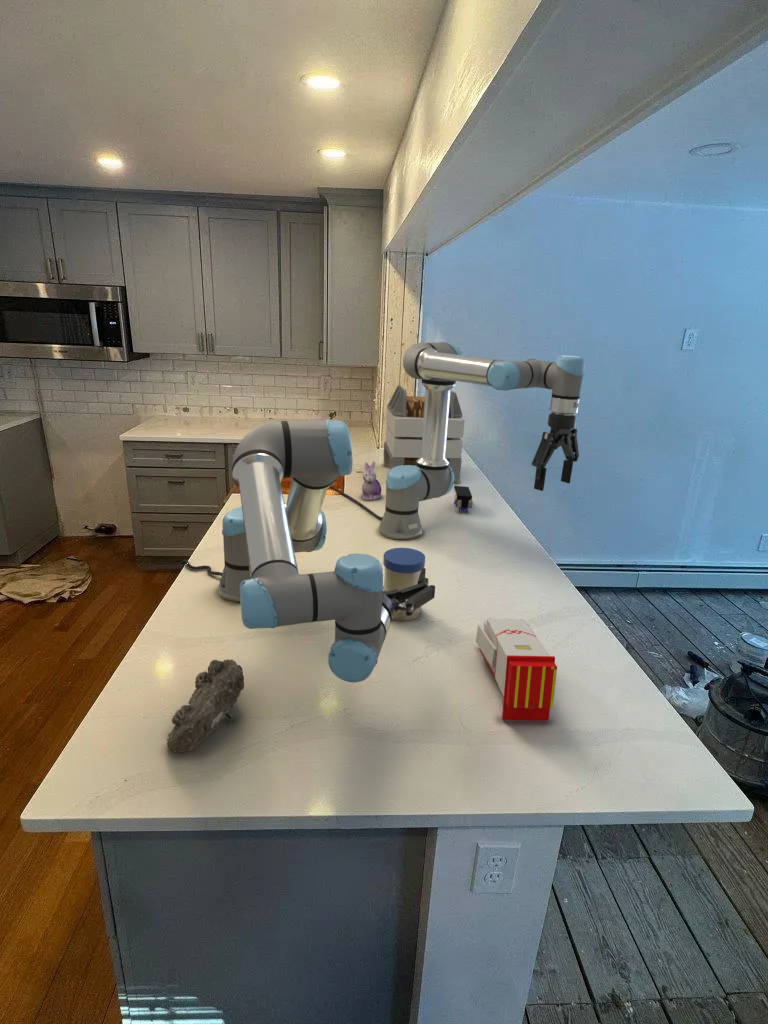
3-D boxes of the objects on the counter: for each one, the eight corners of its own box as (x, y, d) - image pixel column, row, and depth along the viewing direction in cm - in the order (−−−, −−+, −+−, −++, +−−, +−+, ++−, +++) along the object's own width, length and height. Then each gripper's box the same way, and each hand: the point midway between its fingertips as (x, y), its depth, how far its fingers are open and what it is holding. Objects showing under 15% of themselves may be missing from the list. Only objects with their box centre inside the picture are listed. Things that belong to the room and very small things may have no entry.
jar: (421, 621, 145) (425, 566, 139) (383, 620, 144) (386, 565, 139) (417, 602, 154) (421, 550, 149) (381, 601, 153) (384, 549, 148)
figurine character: (472, 517, 222) (467, 501, 236) (475, 500, 219) (469, 484, 233) (455, 517, 222) (451, 500, 236) (457, 499, 219) (452, 484, 232)
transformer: (382, 463, 289) (386, 382, 275) (445, 464, 293) (451, 384, 279) (390, 482, 257) (394, 392, 243) (460, 483, 261) (468, 394, 247)
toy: (523, 604, 135) (566, 662, 106) (518, 656, 138) (559, 727, 109) (472, 603, 135) (501, 661, 105) (468, 655, 138) (496, 726, 108)
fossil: (192, 660, 117) (244, 628, 112) (224, 691, 120) (276, 661, 115) (142, 746, 98) (202, 712, 93) (182, 779, 101) (242, 748, 96)
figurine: (366, 502, 230) (367, 466, 225) (355, 494, 239) (356, 460, 234) (386, 499, 235) (388, 464, 229) (375, 492, 243) (377, 458, 238)
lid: (427, 573, 140) (427, 565, 139) (384, 573, 139) (384, 564, 138) (422, 556, 150) (422, 547, 149) (382, 555, 149) (382, 547, 148)
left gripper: (304, 626, 106) (336, 578, 126) (437, 646, 102) (448, 592, 121) (304, 590, 103) (336, 547, 123) (440, 608, 99) (451, 560, 119)
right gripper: (548, 419, 148) (537, 496, 155) (598, 411, 163) (586, 482, 171) (525, 414, 153) (515, 489, 160) (575, 407, 169) (564, 476, 176)
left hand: (392, 569), depth 122 cm, fingers open, 13 cm apart
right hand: (552, 485), depth 166 cm, fingers open, 13 cm apart
